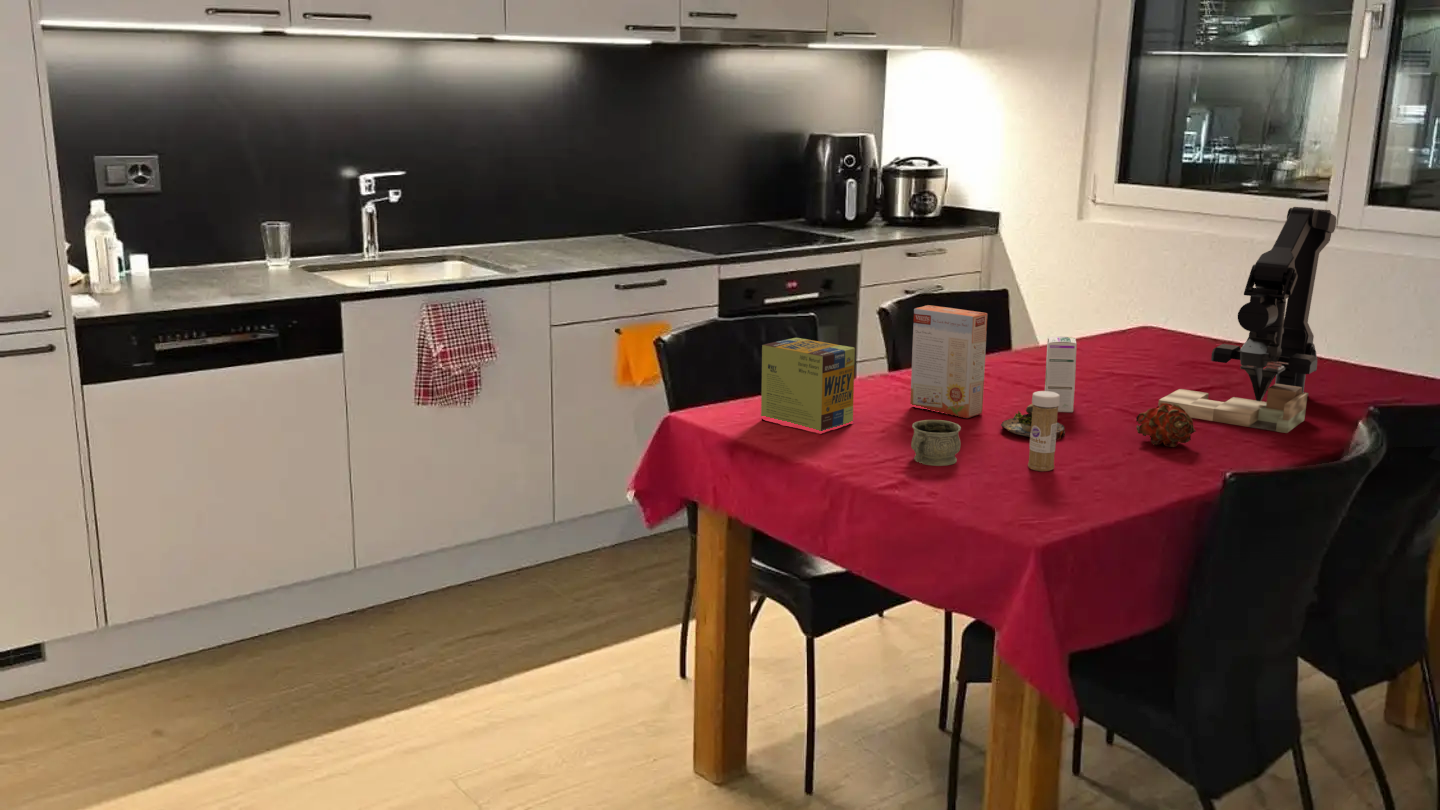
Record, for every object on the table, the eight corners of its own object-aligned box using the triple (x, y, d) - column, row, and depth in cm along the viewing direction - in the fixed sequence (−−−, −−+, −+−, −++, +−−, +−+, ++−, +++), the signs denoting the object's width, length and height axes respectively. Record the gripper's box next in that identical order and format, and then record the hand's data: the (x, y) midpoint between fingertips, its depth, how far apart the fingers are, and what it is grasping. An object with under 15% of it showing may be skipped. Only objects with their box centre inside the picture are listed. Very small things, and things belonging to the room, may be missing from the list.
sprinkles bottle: (1023, 468, 223) (1027, 393, 220) (1035, 462, 227) (1040, 388, 223) (1047, 473, 220) (1052, 398, 217) (1059, 467, 224) (1064, 393, 220)
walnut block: (1273, 402, 257) (1275, 383, 256) (1299, 406, 254) (1302, 387, 253) (1266, 407, 253) (1268, 388, 252) (1292, 411, 250) (1294, 392, 249)
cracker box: (983, 414, 258) (989, 312, 253) (967, 420, 254) (972, 316, 249) (925, 402, 268) (929, 303, 262) (908, 407, 263) (912, 307, 258)
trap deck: (1178, 400, 269) (1181, 374, 268) (1304, 420, 254) (1307, 393, 253) (1157, 411, 260) (1160, 385, 259) (1286, 433, 245) (1290, 405, 244)
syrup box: (1073, 412, 259) (1078, 342, 256) (1043, 411, 261) (1048, 341, 257) (1071, 405, 265) (1076, 336, 261) (1042, 404, 266) (1047, 335, 262)
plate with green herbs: (989, 429, 249) (991, 391, 247) (1040, 423, 253) (1042, 386, 251) (1025, 445, 238) (1027, 406, 236) (1078, 439, 242) (1080, 400, 240)
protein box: (821, 435, 244) (823, 355, 240) (760, 420, 254) (760, 344, 250) (854, 424, 251) (856, 347, 247) (793, 410, 261) (794, 336, 257)
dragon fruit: (1189, 461, 232) (1136, 455, 243) (1213, 429, 235) (1159, 423, 245) (1170, 428, 229) (1117, 423, 239) (1194, 395, 232) (1141, 391, 242)
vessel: (935, 448, 236) (936, 415, 234) (975, 458, 230) (977, 424, 228) (894, 461, 227) (895, 427, 226) (935, 472, 221) (936, 437, 220)
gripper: (1205, 324, 251) (1198, 401, 255) (1306, 336, 240) (1296, 416, 244) (1224, 316, 260) (1216, 390, 264) (1322, 327, 248) (1312, 405, 252)
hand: (1258, 400), depth 256 cm, fingers closed
